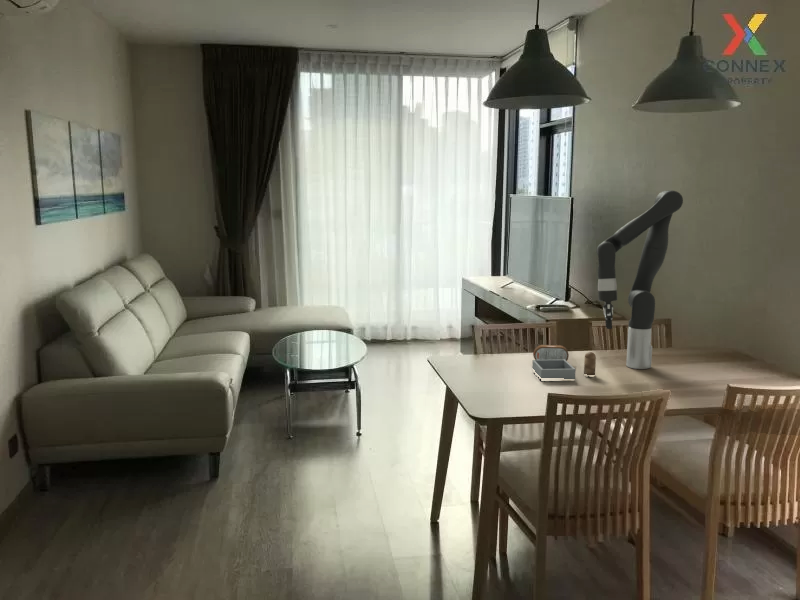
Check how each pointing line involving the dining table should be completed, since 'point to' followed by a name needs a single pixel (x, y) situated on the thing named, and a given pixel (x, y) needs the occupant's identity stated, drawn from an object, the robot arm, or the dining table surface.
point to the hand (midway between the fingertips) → (608, 328)
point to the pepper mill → (589, 363)
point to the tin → (550, 352)
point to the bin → (553, 369)
